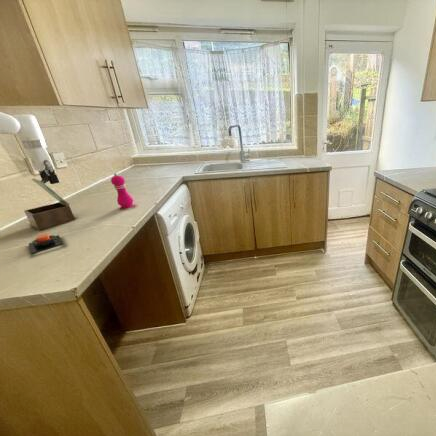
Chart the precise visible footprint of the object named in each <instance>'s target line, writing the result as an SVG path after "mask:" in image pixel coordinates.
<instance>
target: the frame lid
mask: <svg viewBox="0 0 436 436" xmlns="http://www.w3.org/2000/svg"><path fill="white" fill-rule="evenodd" d="M47 176H48V175H47ZM47 176H46V178H44V179H43V180H42V179H40V180H38V179H35V178H32V179H31V180H32V181H33V182H34V183H36V185H38V186H39V187H40V188H42V189H43V190H44V191H45V192H46V193H48V194H49V195H50V196H51V197H53V198H54V199H55V200H57V201H58V202H61V203H64V204H66V205H69V206H70V203H69V202H68V201H66V200H65V199H64V198H63V197H62V196H60V195H59V194H58V193H57V192H55V191H54V190H53V189H52V188H51V187H49V185H47V183H48V182H49V180H48V177H47ZM45 180H46V181H45Z"/></svg>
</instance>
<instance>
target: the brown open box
mask: <svg viewBox="0 0 436 436" xmlns="http://www.w3.org/2000/svg"><path fill="white" fill-rule="evenodd" d="M23 212H24V214H25V216H26V218H27V220H28V221H29V224H30V226H32V227H33V228H35V229H36V230H38V231H39V232H40V231H43V230H47V229H51V228H54V227H57V226H60V225H63V224H66V223H70V222H72V221H75V220H76V218H75V216H74V214H73V211H72V209H71V206H70V205H66V204H64V203H61V202H59V201H58V202H54V203H50V204H45V205H42V206H37V207H33V208H29V209H25V210H23Z"/></svg>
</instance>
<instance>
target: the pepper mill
mask: <svg viewBox="0 0 436 436" xmlns="http://www.w3.org/2000/svg"><path fill="white" fill-rule="evenodd" d="M110 182H111V184H112V185H113V186H114V189H115V190H116V192H117V198H116V201H117V204H118V205H119V206H120V209H121V210H126V209H130V208H133V207H135V203H134V198H133V197H132V195H131V194H130V193H128V191H127V188H126V187H127V186H126V184H125V182H126V179H125V177H124V176H122V175H119V174H118V173H117V172H114V173H113V176H112V177H111V178H110Z"/></svg>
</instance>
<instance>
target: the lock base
mask: <svg viewBox="0 0 436 436" xmlns="http://www.w3.org/2000/svg"><path fill="white" fill-rule="evenodd" d="M49 236H50V239H49V240H47V241H43V242H38V241H37V239H36V238H35V239H34V240H33V241H31V242H29V243H28V247H29V251H30V254H31V255H34V254H37V253H41V252H44V251H47V250H50V249H53V248H57V247H60V246H63V245H64V242H63V240H62V239H61V237H60V235H59V234H58V235H53V234H49Z"/></svg>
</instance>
